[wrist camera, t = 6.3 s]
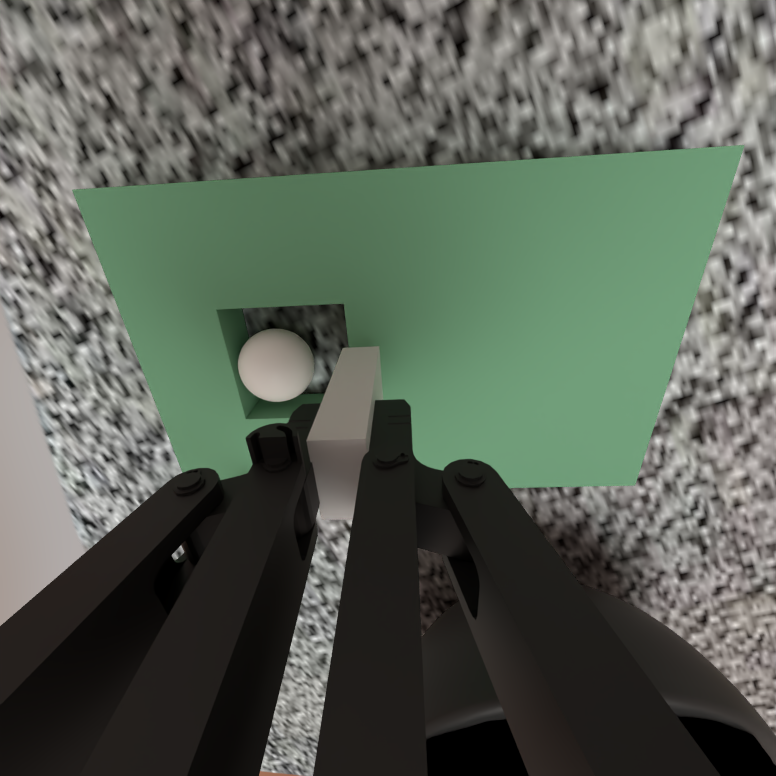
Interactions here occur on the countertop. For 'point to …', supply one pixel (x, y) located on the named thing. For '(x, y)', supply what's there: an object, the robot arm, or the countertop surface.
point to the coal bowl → (648, 647)
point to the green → (430, 298)
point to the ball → (276, 365)
